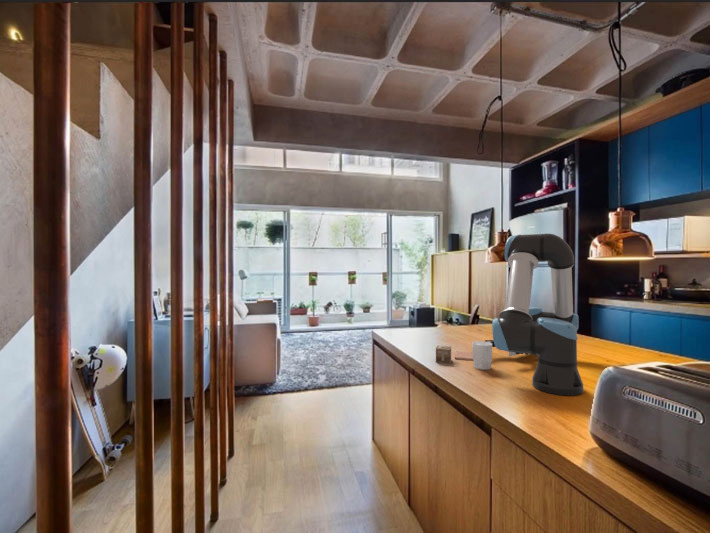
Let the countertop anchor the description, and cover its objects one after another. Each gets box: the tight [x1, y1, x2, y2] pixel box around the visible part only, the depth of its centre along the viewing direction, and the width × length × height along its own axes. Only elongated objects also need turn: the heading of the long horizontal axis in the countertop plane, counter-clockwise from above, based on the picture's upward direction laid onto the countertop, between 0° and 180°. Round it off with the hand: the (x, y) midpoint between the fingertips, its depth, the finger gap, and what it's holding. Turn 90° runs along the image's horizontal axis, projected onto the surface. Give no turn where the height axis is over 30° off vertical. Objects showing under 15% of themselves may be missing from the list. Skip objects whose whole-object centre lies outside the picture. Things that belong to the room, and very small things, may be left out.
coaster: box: [454, 351, 473, 361], centre depth 159 cm, size 11×11×1 cm
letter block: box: [435, 345, 452, 364], centre depth 153 cm, size 6×6×6 cm
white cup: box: [471, 340, 493, 371], centre depth 143 cm, size 8×8×10 cm
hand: (495, 349), depth 148 cm, fingers open, 13 cm apart
